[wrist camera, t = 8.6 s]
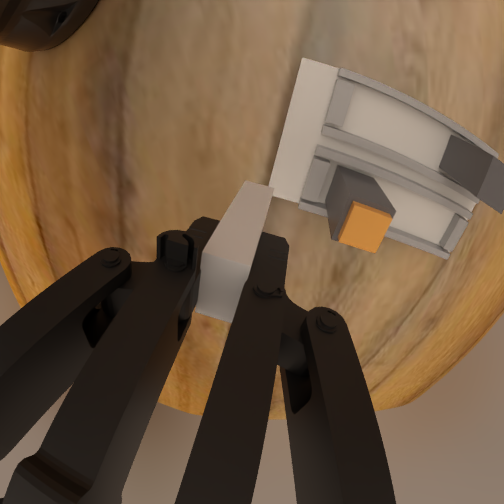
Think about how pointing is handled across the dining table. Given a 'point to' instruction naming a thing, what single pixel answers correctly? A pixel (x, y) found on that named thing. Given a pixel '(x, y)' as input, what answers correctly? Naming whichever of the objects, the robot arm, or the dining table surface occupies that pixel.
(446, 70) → the dining table surface
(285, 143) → the panel
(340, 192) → the handle
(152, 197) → the dining table surface
